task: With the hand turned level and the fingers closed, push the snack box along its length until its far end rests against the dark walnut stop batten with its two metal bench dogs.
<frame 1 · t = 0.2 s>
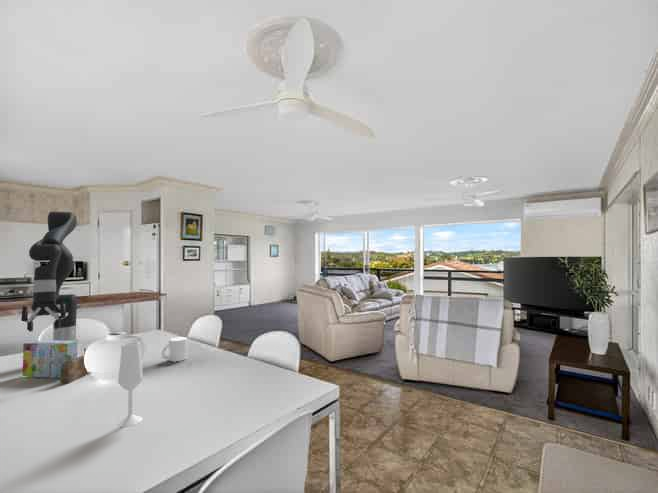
hand: (43, 330, 142), 22 cm above the table, tool pointing down, fingers open, 8 cm apart
mug: (174, 360, 171), on the table
walnut stop: (78, 377, 148), on the table
champagne flute: (130, 422, 106), on the table
snack box: (49, 376, 150), on the table
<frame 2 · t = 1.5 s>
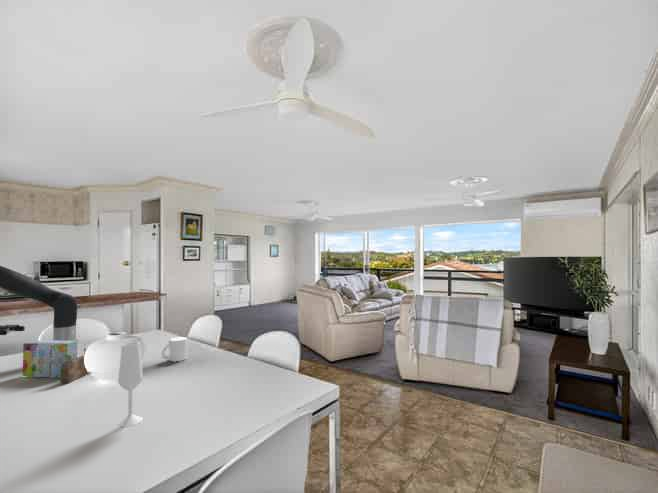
hand: (15, 330, 150), 20 cm above the table, tool horizontal, fingers open, 8 cm apart
nothing on the table moved.
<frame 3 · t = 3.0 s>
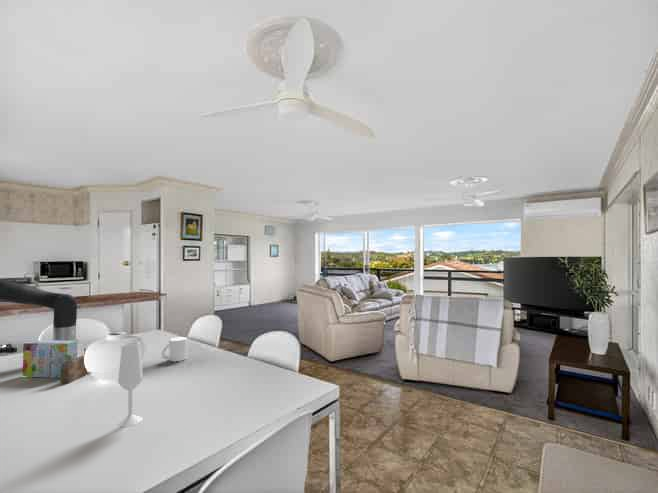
hand: (15, 349, 149), 12 cm above the table, tool horizontal, fingers closed
nothing on the table moved.
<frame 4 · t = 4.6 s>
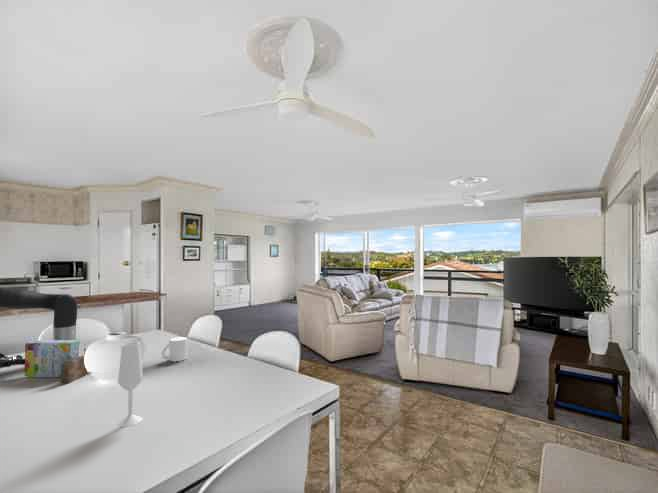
hand: (25, 361, 149), 7 cm above the table, tool horizontal, fingers closed
snack box: (51, 376, 150), on the table, touching gripper
everything else where it was.
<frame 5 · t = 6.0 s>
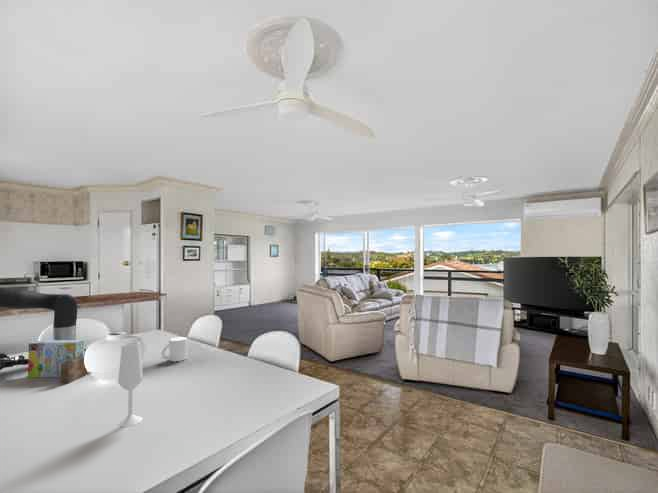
hand: (28, 361, 149), 6 cm above the table, tool horizontal, fingers closed
snack box: (55, 376, 150), on the table
everything else where it was.
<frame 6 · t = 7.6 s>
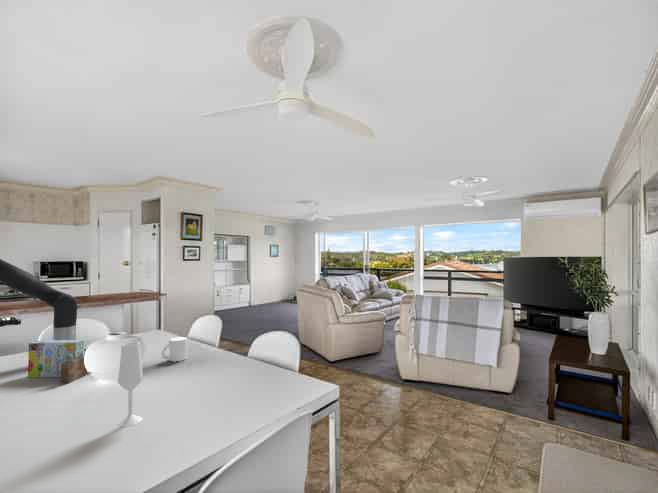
hand: (19, 322, 150), 24 cm above the table, tool horizontal, fingers closed
nothing on the table moved.
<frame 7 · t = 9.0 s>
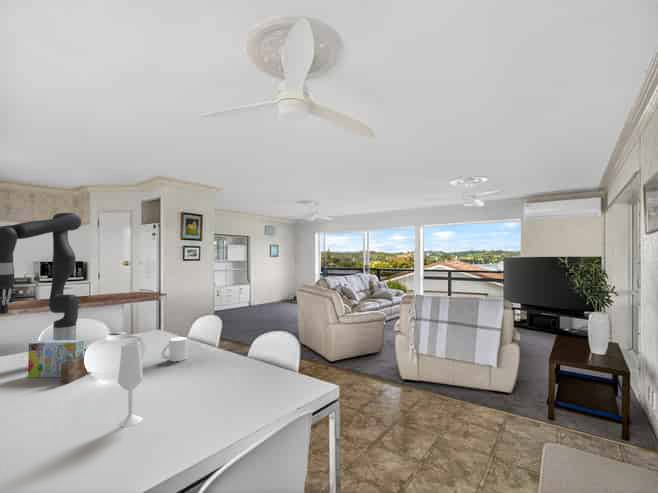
hand: (3, 313, 147), 28 cm above the table, tool pointing down, fingers closed
nothing on the table moved.
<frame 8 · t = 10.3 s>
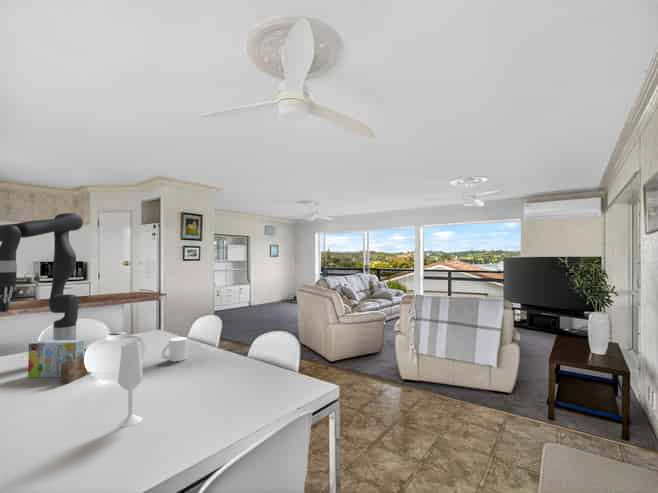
hand: (4, 311, 146), 29 cm above the table, tool pointing down, fingers closed
nothing on the table moved.
at the end: snack box 0.7 cm from the target spot, on the table; snack box tilted 0°; snack box moved 2.5 cm from its start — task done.
